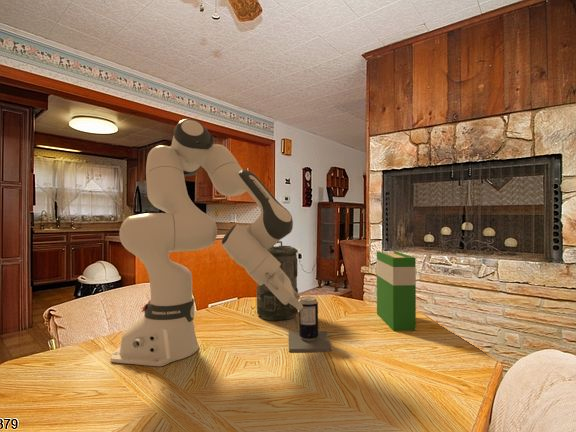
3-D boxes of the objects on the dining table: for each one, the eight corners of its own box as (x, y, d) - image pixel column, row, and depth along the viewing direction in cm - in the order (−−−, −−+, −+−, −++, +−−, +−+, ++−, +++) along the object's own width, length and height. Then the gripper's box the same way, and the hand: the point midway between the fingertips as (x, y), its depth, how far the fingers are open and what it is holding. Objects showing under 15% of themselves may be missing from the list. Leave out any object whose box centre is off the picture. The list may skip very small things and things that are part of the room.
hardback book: (376, 313, 120) (376, 251, 119) (396, 313, 120) (395, 251, 120) (393, 331, 102) (393, 257, 102) (415, 330, 102) (415, 257, 102)
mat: (289, 351, 87) (289, 349, 87) (288, 333, 100) (288, 331, 100) (331, 351, 87) (331, 348, 87) (325, 333, 100) (325, 331, 100)
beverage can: (322, 338, 94) (321, 298, 94) (307, 343, 90) (307, 301, 91) (309, 333, 98) (309, 295, 99) (295, 337, 95) (295, 298, 95)
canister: (287, 324, 109) (286, 244, 109) (248, 317, 116) (248, 242, 116) (304, 311, 123) (304, 240, 123) (269, 306, 130) (268, 239, 130)
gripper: (273, 269, 81) (311, 306, 82) (274, 258, 102) (304, 287, 102) (256, 286, 81) (294, 323, 81) (260, 271, 101) (290, 301, 102)
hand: (299, 303), depth 92 cm, fingers open, 8 cm apart
